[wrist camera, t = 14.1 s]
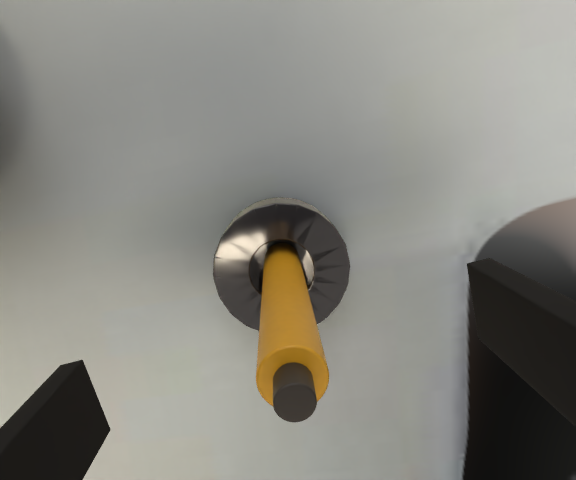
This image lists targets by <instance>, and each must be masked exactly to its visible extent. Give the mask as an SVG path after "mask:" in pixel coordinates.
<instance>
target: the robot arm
mask: <svg viewBox="0 0 576 480" xmlns="http://www.w3.org/2000/svg"><path fill="white" fill-rule="evenodd" d="M467 268H468V274H469V281H470V287H471V293H472V300H473V307H474V313H475V319H476V326H477V333H478V338H479V339H480V340H481V341H482V342H483V343H484V344H485V345H486V346H487V347H488V348H490V349H491V350H492V351H493V352H494V353H495V354H496V355H497V356H498V357H500V358H501V359H502V360H503V361H504V362H505V363H506V364H507V365H508V366H509V367H511V368H512V369H513V370H514V371H515V372H516V373H517V374H518V375H519V376H521V378H523V379H524V380H525V381H526V382H527V383H528V384H529V385H530V386H531V387H533V388H534V389H535V390H536V391H537V392H538V393H539V394H540V395H541V396H542V397H543V398H544V399H546V400H547V401H548V402H549V403H550V404H551V405H552V406H553V407H554V408H555V409H557V410H558V411H559V412H560V413H561V414H562V415H563V416H564V417H565V418H567V419H568V420H569V421H570V422H571V423H572V424H573V425H574V426H575V427H576V301H574V300H572V299H570V298H568V297H566V296H564V295H562V294H560V293H558V292H556V291H554V290H552V289H550V288H548V287H546V286H544V285H542V284H540V283H538V282H536V281H534V280H532V279H530V278H528V277H526V276H524V275H522V274H520V273H518V272H516V271H514V270H512V269H510V268H508V267H506V266H504V265H502V264H500V263H498V262H496V261H494V260H492V259H490V258H488V259H484V260H480V261H476V262H472V263H468V264H467ZM109 431H110V427H109V425H108V422H107V420H106V417H105V415H104V412H103V410H102V407H101V405H100V402H99V400H98V397H97V395H96V392H95V390H94V387H93V385H92V382H91V380H90V377H89V375H88V372H87V370H86V367H85V365H84V362H83V360H80V361H76V362H72V363H68V364H64V365H60V366H59V367H58V368H57V369H56V371H55V372H54V373H53V374H52V375H51V376H50V377H49V378H48V379H47V380H46V381H45V382H44V383H43V384H42V385H41V386H40V387H39V388H38V389H37V390H36V391H35V393H34V394H33V395H32V396H31V397H30V398H29V399H28V400H27V401H26V402H25V403H24V404H23V405H22V406H21V407H20V408H19V409H18V410H17V411H16V412H15V413H14V415H13V416H12V417H11V418H10V419H9V420H8V421H7V422H6V423H5V424H4V425H3V426H2V427H1V428H0V480H83V478H84V476H85V474H86V472H87V471H88V469H89V467H90V465H91V464H92V462H93V460H94V458H95V456H96V455H97V453H98V451H99V449H100V447H101V446H102V444H103V442H104V440H105V438H106V437H107V435H108V433H109Z"/></svg>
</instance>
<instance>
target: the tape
mask: <svg viewBox="0 0 576 480" xmlns="http://www.w3.org/2000/svg"><path fill="white" fill-rule="evenodd" d="M278 243H286V244H289V245H291V246H292V247H294V248H295V249H296V251H297V252H298V255H299V258H300V262H301V266H302V270H303V274H304V277H305V281H306V285H307V289H308V293H309V297H310V301H311V304H312V308H313V312H314V316H315V320H316V324H318V323H320V322H321V321H323V320H324V319H325V318H327V317H328V316H329V315H330V313H331V312H332V311H333V310H334V309H335V308H336V307H337V306H338V304H339V303H340V301H341V299H342V297H343V295H344V293H345V290H346V288H347V285H348V280H349V271H350V262H349V257H348V253H347V248H346V245H345V242H344V241H343V239H342V238H341V236H340V234H339V233H338V231H337V229H336V228H335V226H334V225H333V224H332V223H331V221H330V220H329V219H328V218H327V217H326V216H325V215H323V214H322V213H321V212H320V211H319V210H318V209H316V208H315V207H314V206H312V205H310V204H307V203H306V202H303V201H300V200H297V199H293V198H283V197H279V198H278V197H276V198H270V199H265V200H262V201H258V202H256V203H254V204H252V205H250V206H248V207H247V208H245V209H244V210H243V211H241V212H240V213H238V215H237V216H236V217H235V218H234V219H233V220H232V222H231V223H230V224H229V225H228V227H227V228H226V230H225V232H224V233H223V235H222V237H221V239H220V242H219V244H218V247H217V250H216V252H215V255H214V256H215V257H214V268H213V277H214V282H215V285H216V288H217V292H218V295H219V297H220V299H221V301H222V302H223V303H224V305H225V306H226V308H227V309H228V311H229V312H230V313H231V314H232V315H233V316H234V317H235V318H237V319H238V320H239V321H241V322H242V323H243V324H245V325H246V326H248V327H250V328H253V329H256V330H259V327H260V313H261V298H262V284H263V269H264V257H265V254H266V252H267V250H268V249H269V248H270V247H271V246H273V245H275V244H278Z"/></svg>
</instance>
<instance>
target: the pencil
mask: <svg viewBox="0 0 576 480" xmlns="http://www.w3.org/2000/svg"><path fill="white" fill-rule="evenodd" d="M256 383H257V387H258V390H259V392H260V394H261V396H262V397H263V398H264V399H265V400H266V401H267V402H268V403H269V404H270V405H272V406H273V407H274V410H275V412H276V413H277V415H278V416H279V417H281V418H282V419H284V420H286V421H289V422H300V421H303V420H305V419H307V418H308V417H310V416H311V415H312V413H313V412H314V410H315V408H316V405H317V401H318V400H319V399H320V398H321V397H322V396H323V394H324V393H325V391H326V389H327V386H328V383H329V371H328V366H327V363H326V359H325V355H324V351H323V347H322V343H321V339H320V335H319V332H318V328H317V324H316V320H315V316H314V312H313V308H312V304H311V301H310V297H309V293H308V289H307V285H306V281H305V277H304V274H303V270H302V266H301V262H300V258H299V255H298V252H297V251H296V249H295V248H294V247H292V246H291V245H289V244H286V243H278V244H275V245H273V246H271V247H270V248H269V249H268V250H267V252H266V254H265V257H264V269H263V284H262V298H261V313H260V327H259V342H258V356H257V371H256Z"/></svg>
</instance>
